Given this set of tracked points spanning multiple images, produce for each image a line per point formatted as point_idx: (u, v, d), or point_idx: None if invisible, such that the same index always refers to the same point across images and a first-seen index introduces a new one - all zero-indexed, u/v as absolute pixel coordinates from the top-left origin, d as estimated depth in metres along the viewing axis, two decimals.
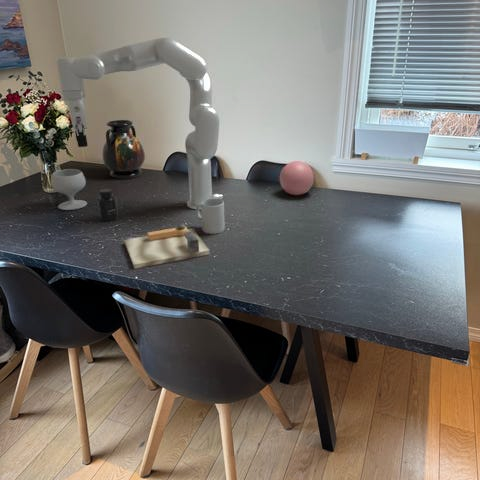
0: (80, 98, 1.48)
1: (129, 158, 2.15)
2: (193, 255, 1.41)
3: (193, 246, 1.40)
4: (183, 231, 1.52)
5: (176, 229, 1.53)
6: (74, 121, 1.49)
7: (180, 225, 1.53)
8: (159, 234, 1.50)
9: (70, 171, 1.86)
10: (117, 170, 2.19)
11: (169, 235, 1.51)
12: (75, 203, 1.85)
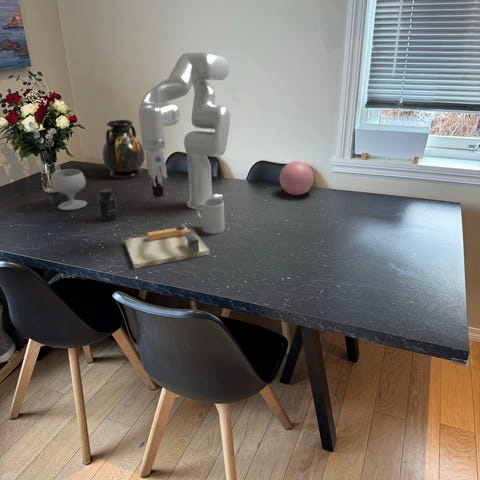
0: (161, 148, 1.42)
1: (129, 158, 2.15)
2: (193, 255, 1.41)
3: (193, 246, 1.40)
4: (183, 231, 1.52)
5: (176, 229, 1.53)
6: (154, 172, 1.43)
7: (180, 225, 1.53)
8: (159, 234, 1.50)
9: (70, 171, 1.86)
10: (117, 170, 2.19)
11: (169, 235, 1.51)
12: (75, 203, 1.85)
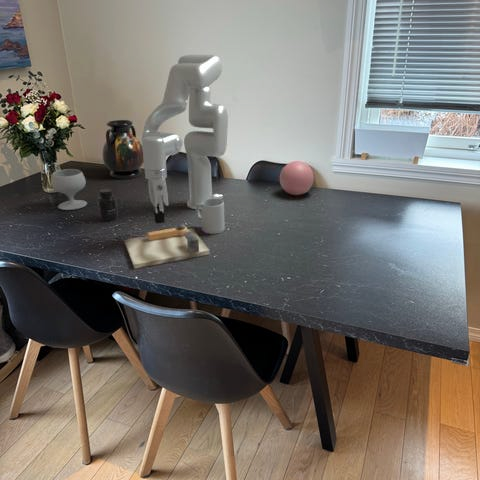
0: (163, 177, 1.46)
1: (129, 158, 2.15)
2: (193, 255, 1.41)
3: (193, 246, 1.40)
4: (183, 231, 1.52)
5: (176, 229, 1.53)
6: (156, 200, 1.47)
7: (180, 225, 1.53)
8: (159, 234, 1.50)
9: (70, 171, 1.86)
10: (117, 170, 2.19)
11: (169, 235, 1.51)
12: (75, 203, 1.85)
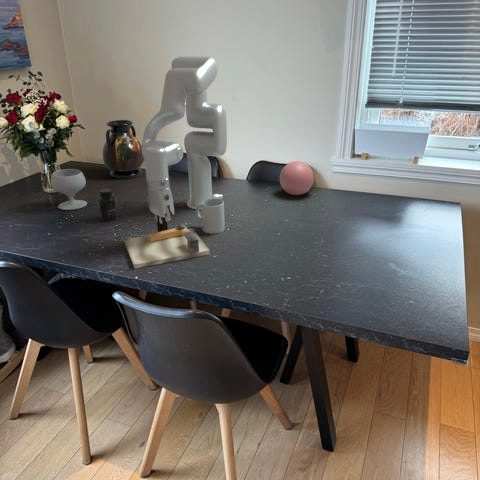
0: (168, 186, 1.45)
1: (129, 158, 2.15)
2: (193, 255, 1.41)
3: (193, 246, 1.40)
4: (184, 231, 1.52)
5: (176, 229, 1.52)
6: (164, 210, 1.45)
7: (180, 225, 1.53)
8: (160, 235, 1.49)
9: (70, 171, 1.86)
10: (117, 170, 2.19)
11: (170, 236, 1.51)
12: (75, 203, 1.85)
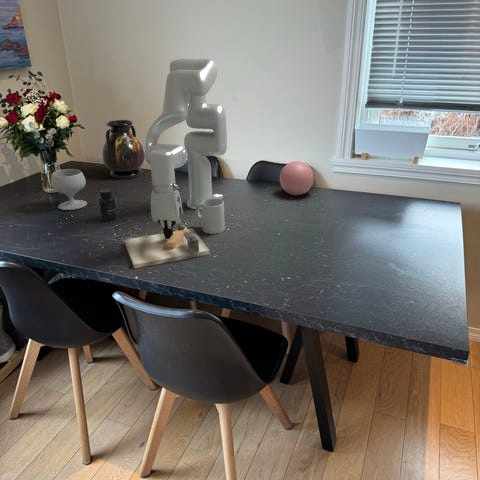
0: None
1: (129, 158, 2.15)
2: (193, 255, 1.41)
3: (193, 246, 1.40)
4: (186, 229, 1.54)
5: (180, 230, 1.52)
6: (178, 213, 1.43)
7: (180, 225, 1.53)
8: (177, 239, 1.46)
9: (70, 171, 1.86)
10: (117, 170, 2.19)
11: (180, 237, 1.50)
12: (75, 203, 1.85)
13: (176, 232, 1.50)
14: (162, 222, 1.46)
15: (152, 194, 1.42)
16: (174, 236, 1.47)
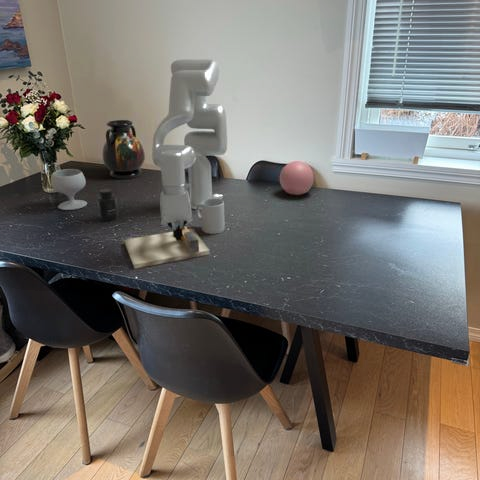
0: None
1: (129, 158, 2.15)
2: (193, 255, 1.41)
3: (193, 246, 1.40)
4: None
5: (183, 230, 1.52)
6: (191, 211, 1.44)
7: None
8: None
9: (70, 171, 1.86)
10: (117, 170, 2.19)
11: None
12: (75, 203, 1.85)
13: (183, 232, 1.50)
14: (174, 224, 1.44)
15: (164, 197, 1.39)
16: None
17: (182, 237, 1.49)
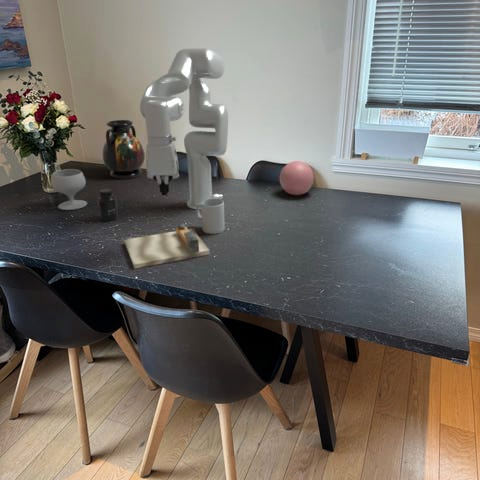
0: None
1: (129, 158, 2.15)
2: (193, 255, 1.41)
3: (193, 246, 1.40)
4: None
5: (183, 230, 1.52)
6: (175, 166, 1.39)
7: (180, 225, 1.53)
8: None
9: (70, 171, 1.86)
10: (117, 170, 2.19)
11: None
12: (75, 203, 1.85)
13: (183, 232, 1.50)
14: (158, 178, 1.42)
15: (147, 148, 1.37)
16: None
17: (182, 237, 1.49)
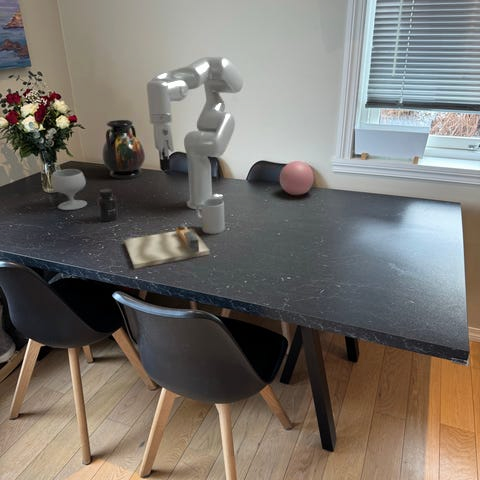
0: (168, 121, 1.48)
1: (129, 158, 2.15)
2: (193, 255, 1.41)
3: (193, 246, 1.40)
4: None
5: (183, 230, 1.52)
6: (161, 144, 1.48)
7: (180, 225, 1.53)
8: None
9: (70, 171, 1.86)
10: (117, 170, 2.19)
11: None
12: (75, 203, 1.85)
13: (183, 232, 1.50)
14: (159, 152, 1.55)
15: None
16: None
17: (182, 237, 1.49)
